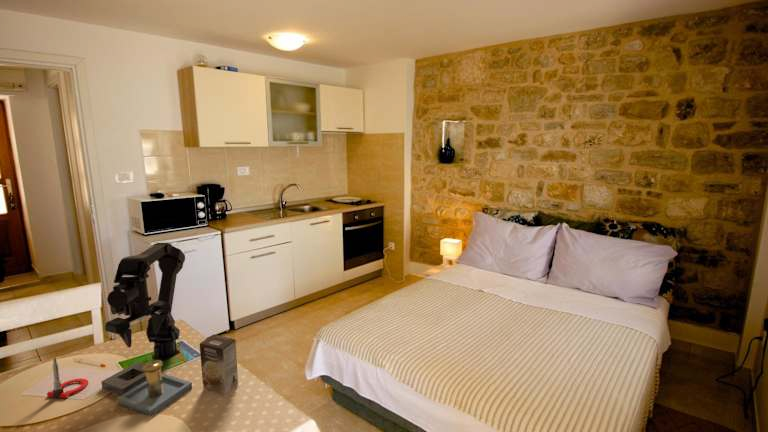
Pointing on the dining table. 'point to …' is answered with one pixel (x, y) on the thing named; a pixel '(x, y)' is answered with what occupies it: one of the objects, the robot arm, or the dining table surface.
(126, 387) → the block
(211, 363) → the coffee box
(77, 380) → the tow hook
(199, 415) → the dining table surface
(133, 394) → the tray
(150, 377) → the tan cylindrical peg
